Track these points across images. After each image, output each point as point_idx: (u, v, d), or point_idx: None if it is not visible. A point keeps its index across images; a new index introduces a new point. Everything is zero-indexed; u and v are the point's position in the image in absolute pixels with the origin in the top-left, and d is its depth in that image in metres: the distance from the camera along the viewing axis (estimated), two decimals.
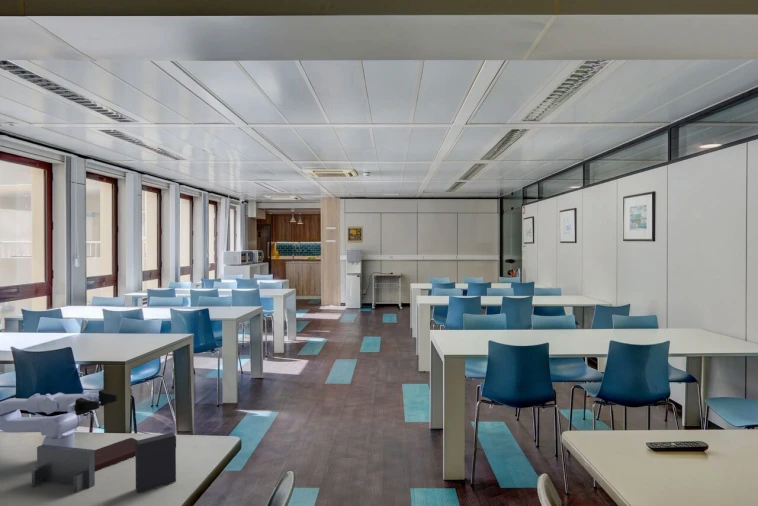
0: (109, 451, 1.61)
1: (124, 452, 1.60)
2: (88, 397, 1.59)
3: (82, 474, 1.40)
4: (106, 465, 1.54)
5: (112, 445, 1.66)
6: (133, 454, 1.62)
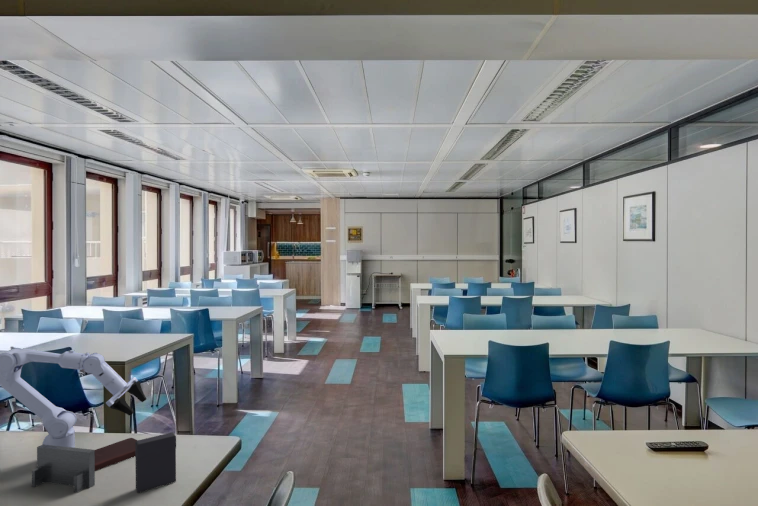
0: (109, 451, 1.61)
1: (124, 452, 1.60)
2: None
3: (82, 474, 1.40)
4: (106, 465, 1.54)
5: (112, 445, 1.66)
6: (133, 454, 1.62)
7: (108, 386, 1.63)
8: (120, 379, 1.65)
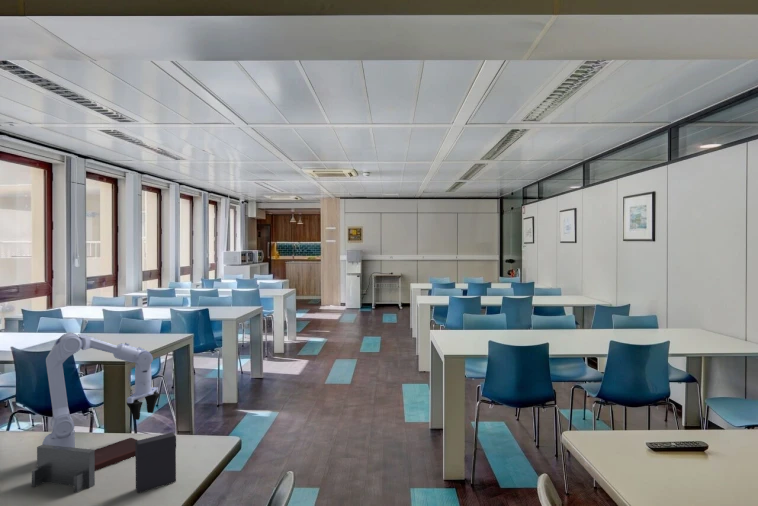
0: (109, 451, 1.61)
1: (124, 452, 1.60)
2: None
3: (82, 474, 1.40)
4: (106, 465, 1.54)
5: (112, 445, 1.66)
6: (133, 454, 1.62)
7: (138, 384, 1.74)
8: (150, 384, 1.77)
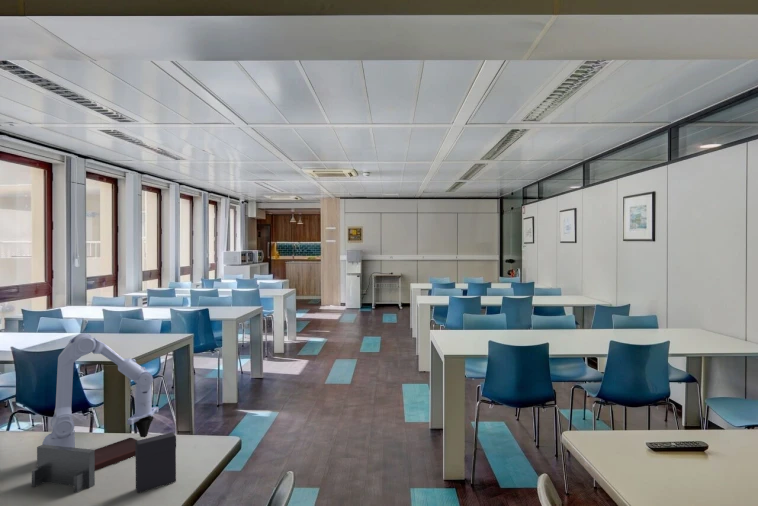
0: (109, 451, 1.61)
1: (124, 452, 1.60)
2: None
3: (82, 474, 1.40)
4: (106, 465, 1.54)
5: (112, 445, 1.66)
6: (133, 454, 1.62)
7: (138, 405, 1.74)
8: (150, 405, 1.77)
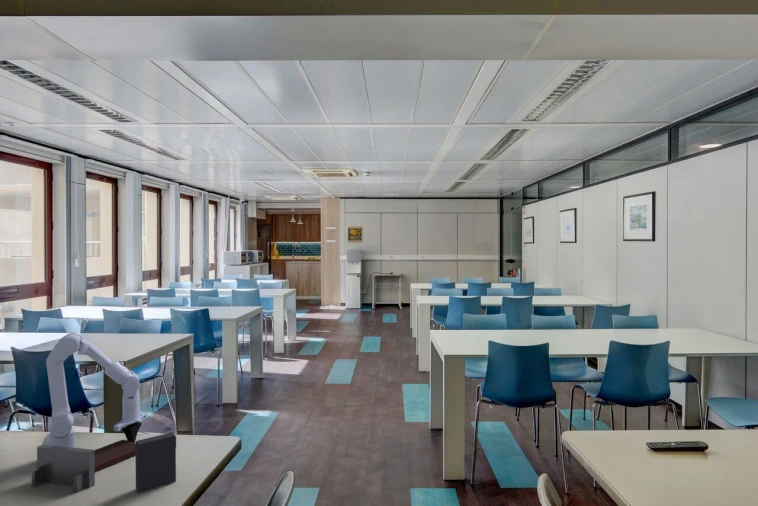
0: (103, 453, 1.58)
1: (119, 454, 1.59)
2: None
3: (82, 474, 1.40)
4: (102, 467, 1.52)
5: (105, 447, 1.63)
6: (128, 455, 1.60)
7: (126, 411, 1.68)
8: (138, 411, 1.71)
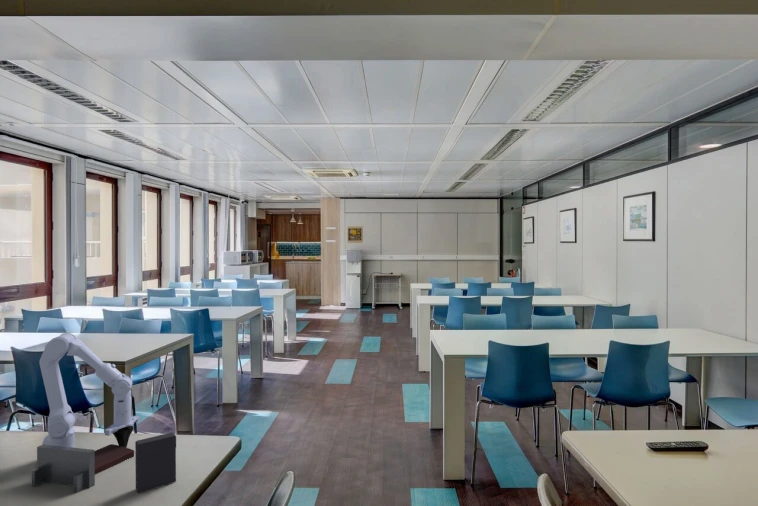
0: (95, 459, 1.55)
1: (112, 458, 1.56)
2: None
3: (82, 474, 1.40)
4: (95, 472, 1.49)
5: None
6: (120, 459, 1.58)
7: (117, 415, 1.64)
8: (130, 414, 1.66)
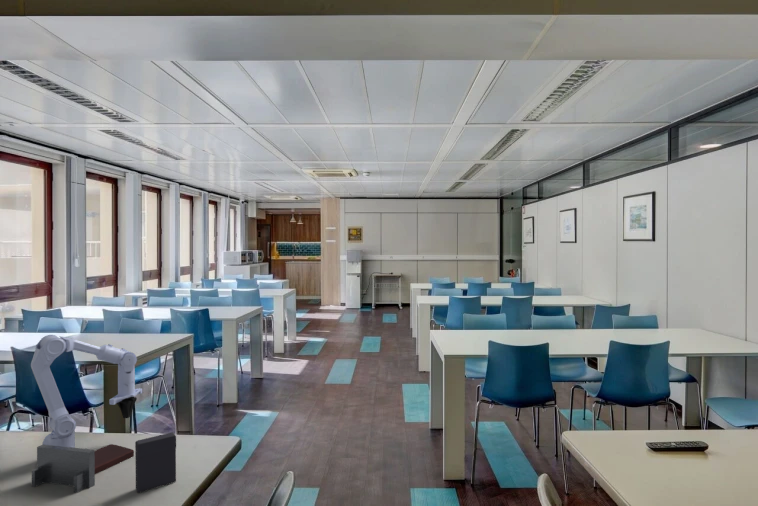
0: None
1: (112, 458, 1.56)
2: None
3: (82, 474, 1.40)
4: (95, 472, 1.49)
5: None
6: (120, 459, 1.58)
7: (121, 386, 1.73)
8: (133, 386, 1.75)
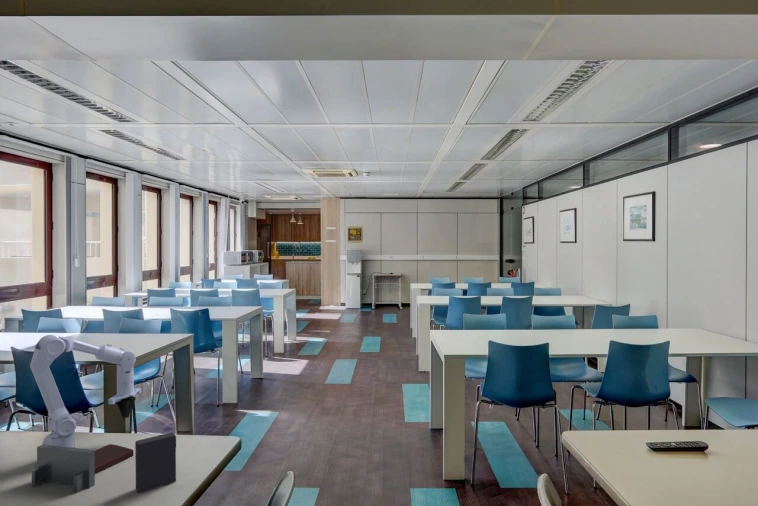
0: None
1: (112, 458, 1.56)
2: None
3: (82, 474, 1.40)
4: (95, 472, 1.49)
5: None
6: (120, 459, 1.58)
7: (120, 385, 1.73)
8: (132, 385, 1.76)
